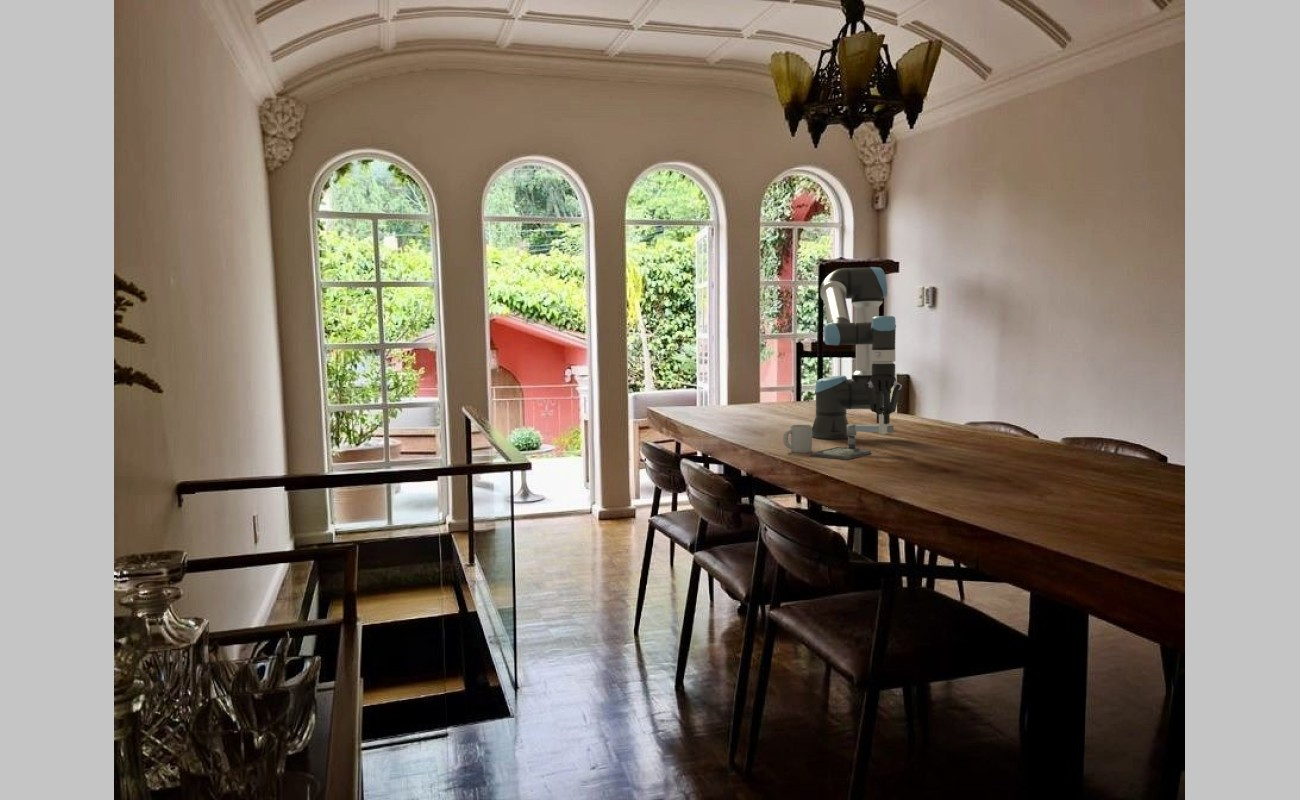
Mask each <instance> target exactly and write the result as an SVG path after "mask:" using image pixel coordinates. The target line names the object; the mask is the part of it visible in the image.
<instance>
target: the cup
mask: <svg viewBox="0 0 1300 800" xmlns="http://www.w3.org/2000/svg"><path fill="white" fill-rule="evenodd" d="M812 427H813V425H811V424H791V425H790V428H789V429H787V430H785V432H784V433H783V439H782V441H783V444H784V446H785V447H786V448H787V449H790V451H791V452H792V453H796V454H807V453H808V454H809V453H812V451H813V437H812ZM789 435H790V443H789Z"/></svg>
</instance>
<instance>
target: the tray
mask: <svg viewBox="0 0 1300 800" xmlns="http://www.w3.org/2000/svg"><path fill="white" fill-rule="evenodd" d="M869 454H872V450H870V449H869V450H868V449H861V447H859V446H856V435H855V436H848V438H847V446H845V447H841V446H840V447H839V446H836V447H832V448H831V447H830V448H828V449H823V450H818V451H815V452H811V457H818V458H827V459H837V460H845V461H847V460H851V459H855V458H859V457H862V456H866V455H869Z"/></svg>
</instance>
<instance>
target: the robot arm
mask: <svg viewBox="0 0 1300 800" xmlns="http://www.w3.org/2000/svg"><path fill="white" fill-rule="evenodd" d="M884 271H885V270H884V269H882V267H875V266H868V267H848V268H847V267H843V268H841V267H840V268H837V269H836V270H833V271H831V272H830V273H829V274H828V275H827V276H826V277H825V278H824V279H823V280H822V283H821V285H820V288H819V293H820V298H821V300H823V302H824V305H825V311H826V318H827V323H824V326H823V339H824V344H825V345H828V346H846V345H848V346H849V345H850V346H851V345H852V346H854V345H855V371H853V372H852V373H851V378H850V379H849V378H848V377H847V376H846V375H835V376H829V377H827V376H826V377H823V378H819V379H818V380H816V382H815V390H814V392H815V418H814V421H813V424H812V438H816V439H823V440H824V439H826V440H834V439H835V440H840V439H848V436H849V435H847V425H850V424H849V421H848V417H847V410H870V411H871V412H872V413H875V415H876V423H877V424H878V425H879V432H878V435H885V434H888V433H887V425H890V419H891V418H890V416H891V415H890V414H893V413H895V412H896V410H897V405H898V402H899V401H898V400H899V396H900V391H901V390H902V389H903V387H904V385H903V384H902V383H899V382H898V381H897V379H896V363H895V362H896V328H897V324H896V323H897V322H896V317H895V316H893V315H879V314H880V311H879V309H880V306H881V305H882V304H883V302H884V300H883V299H885V298H887V297H888V284H887V278H886V274H885V272H884ZM846 299H848V300H849V299H850V300H851V305H852V306H854V308H855V322H851V319H850V316H849V315H850V313H849V309H848V304H847V300H846ZM892 388H893V390H892Z"/></svg>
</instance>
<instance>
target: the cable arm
mask: <svg viewBox="0 0 1300 800" xmlns="http://www.w3.org/2000/svg"><path fill="white" fill-rule="evenodd" d="M894 427H895V425H894V424H887V433H886V434H889V433H891V434H893V433H894V431H895V430H894V429H895V428H894ZM857 432H863V433H864V432H865V433H867V432H868V433H869V432H870V433H871V432H872V433H876V432H877V433H879V424H849V425H847V435H849V436H855V437H856V436H857Z"/></svg>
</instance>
